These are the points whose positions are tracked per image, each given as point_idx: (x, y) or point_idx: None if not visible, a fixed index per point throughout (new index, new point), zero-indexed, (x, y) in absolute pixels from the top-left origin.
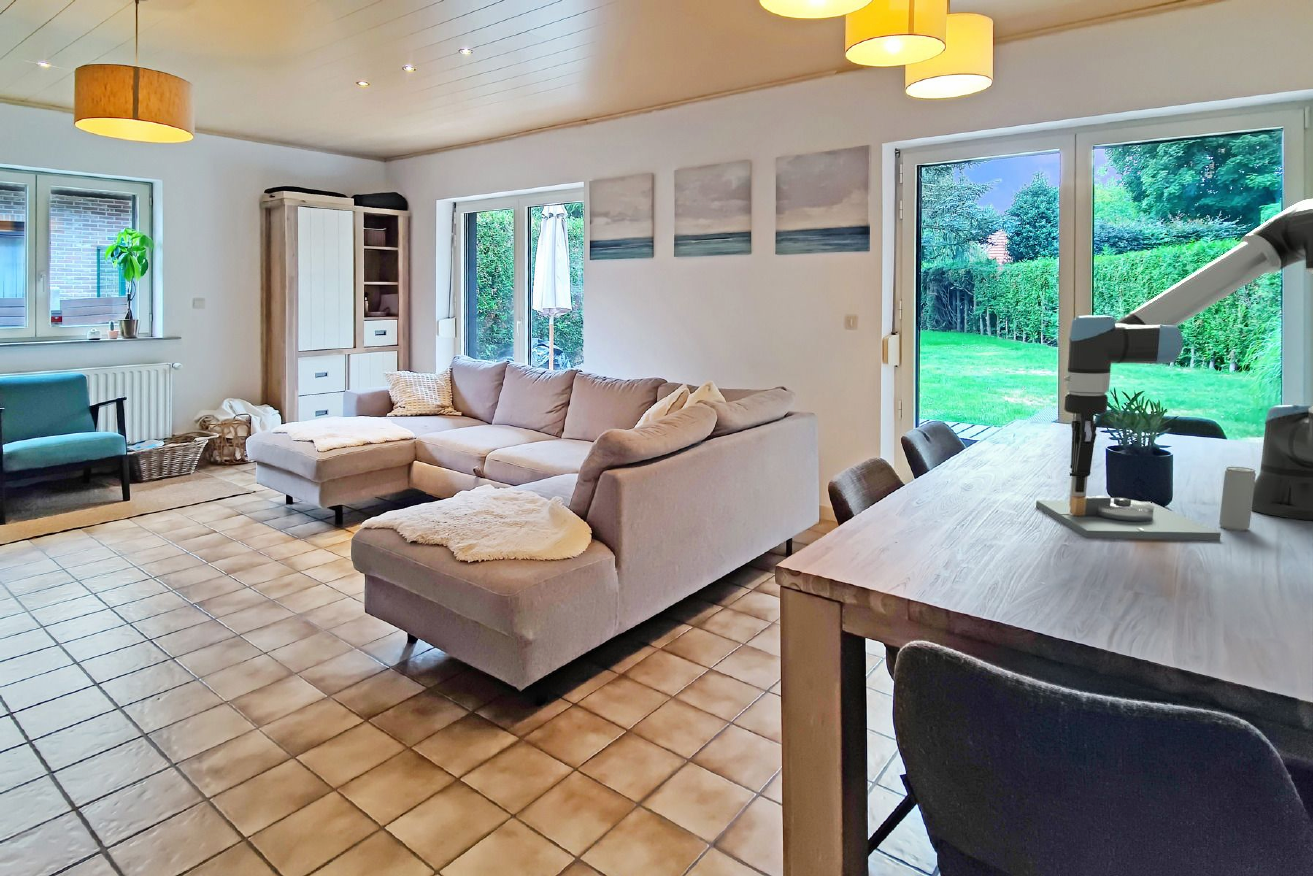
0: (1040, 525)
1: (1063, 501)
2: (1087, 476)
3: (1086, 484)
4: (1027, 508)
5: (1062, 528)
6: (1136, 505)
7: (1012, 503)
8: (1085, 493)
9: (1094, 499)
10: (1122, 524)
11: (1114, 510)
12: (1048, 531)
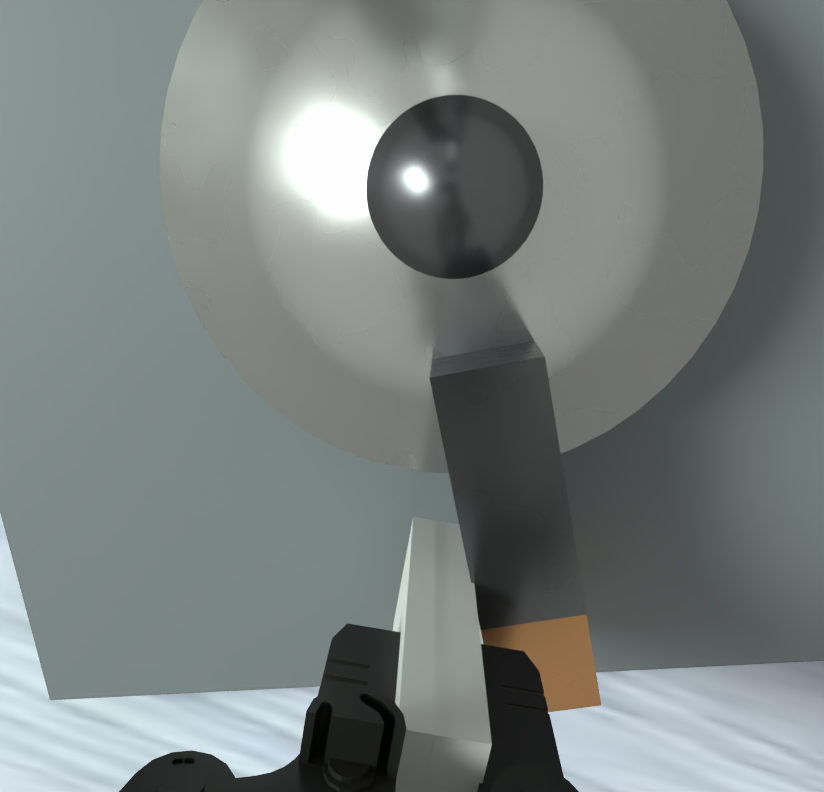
0: (616, 785)
1: (34, 515)
2: (565, 783)
3: (482, 668)
4: (142, 730)
5: (684, 680)
6: (493, 45)
7: (15, 780)
8: (472, 602)
9: (568, 526)
10: (794, 312)
11: (686, 353)
12: (769, 785)
